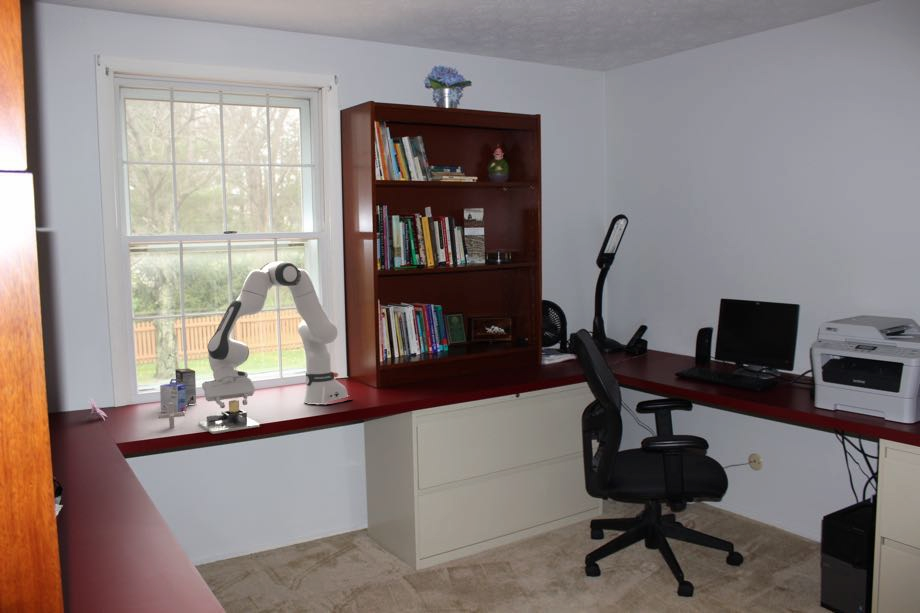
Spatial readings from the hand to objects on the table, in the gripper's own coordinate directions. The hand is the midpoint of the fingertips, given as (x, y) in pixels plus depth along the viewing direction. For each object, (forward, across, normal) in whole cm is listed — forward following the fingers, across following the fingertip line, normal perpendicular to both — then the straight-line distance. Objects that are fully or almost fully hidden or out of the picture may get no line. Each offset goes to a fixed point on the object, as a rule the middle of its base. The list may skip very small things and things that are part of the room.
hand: (234, 405), depth 306 cm
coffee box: (-30, -6, +41) cm, 51 cm away
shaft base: (+7, -4, +3) cm, 9 cm away
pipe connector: (-1, -23, +11) cm, 26 cm away
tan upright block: (+4, 0, +5) cm, 6 cm away
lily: (-24, -46, +35) cm, 62 cm away
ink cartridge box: (-21, -15, +32) cm, 41 cm away
